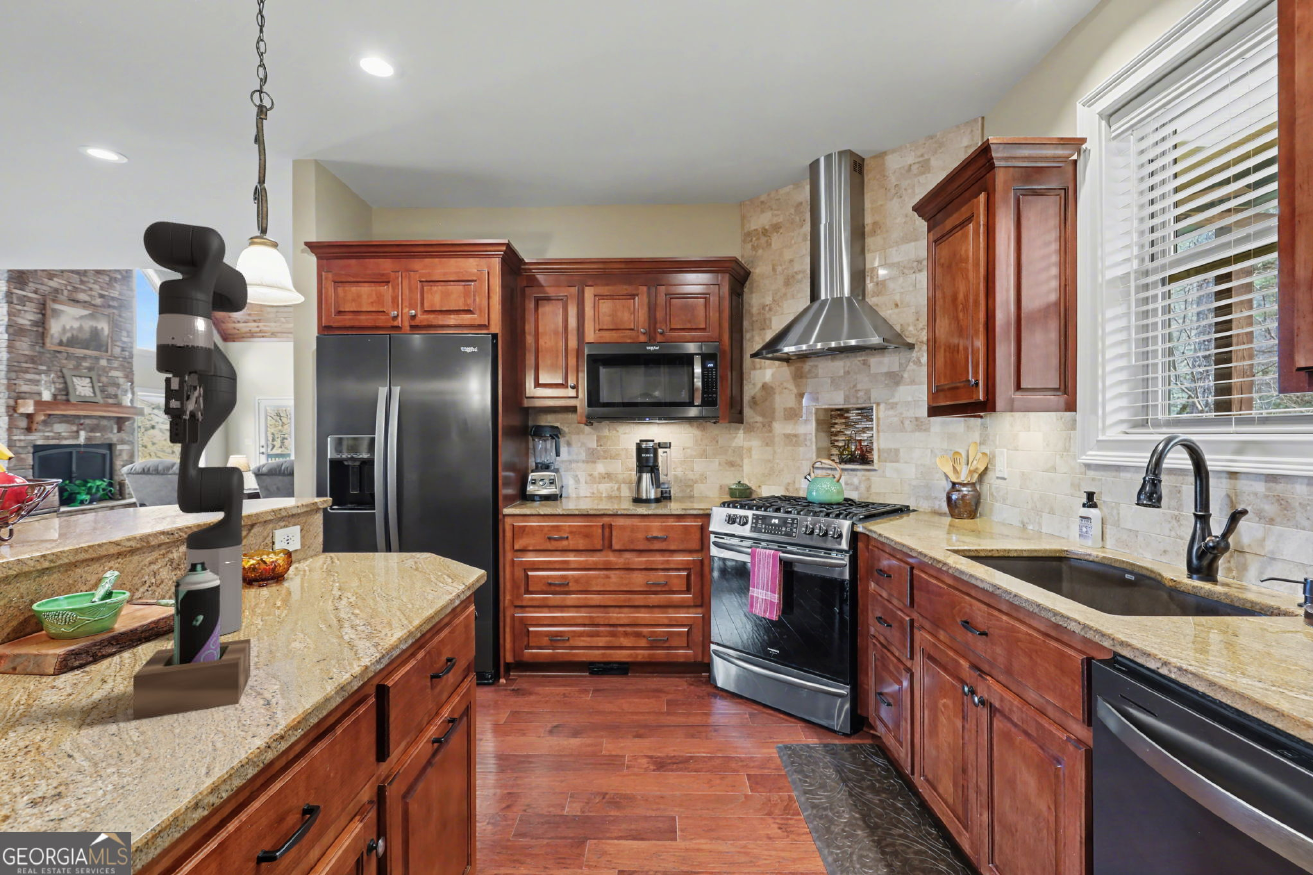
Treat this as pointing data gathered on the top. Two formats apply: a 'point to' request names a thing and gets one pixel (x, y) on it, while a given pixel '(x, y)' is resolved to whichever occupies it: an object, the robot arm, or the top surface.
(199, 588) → the spray can
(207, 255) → the robot arm
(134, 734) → the top surface
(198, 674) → the walnut holder
